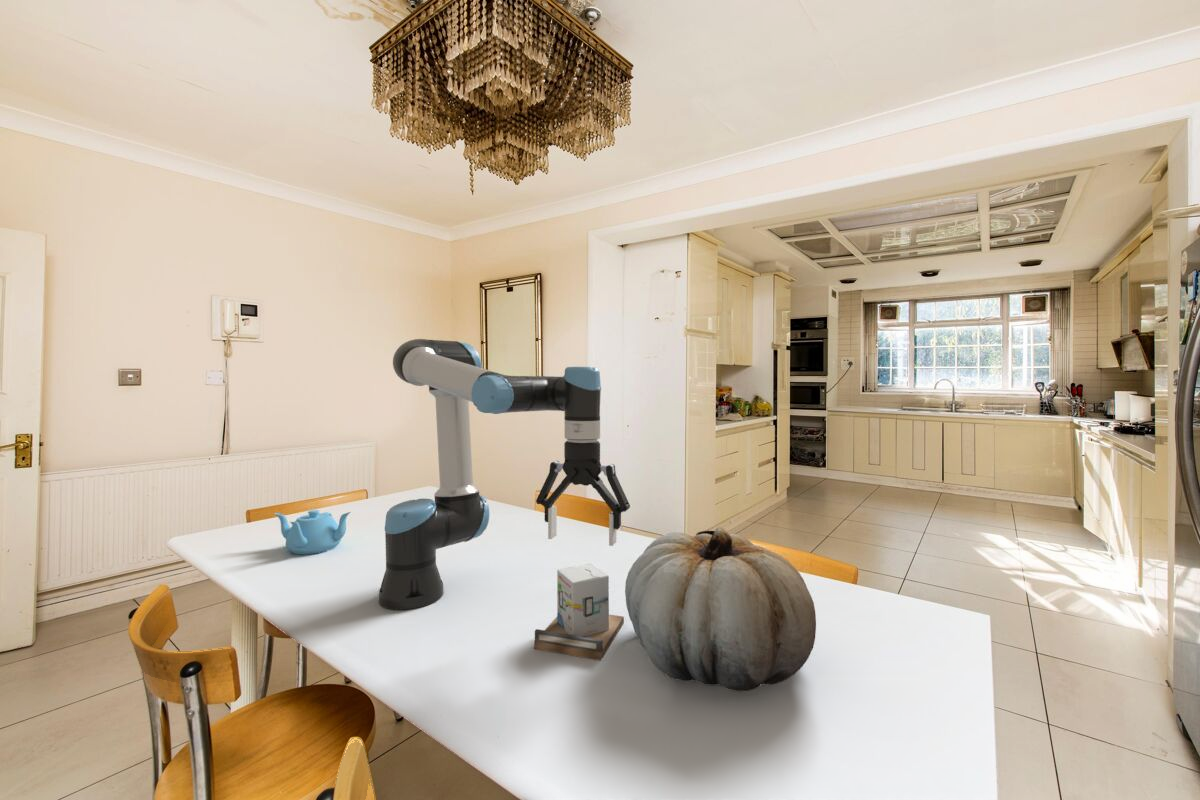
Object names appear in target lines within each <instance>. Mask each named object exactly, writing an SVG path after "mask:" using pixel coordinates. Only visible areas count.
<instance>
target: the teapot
mask: <svg viewBox="0 0 1200 800" xmlns="http://www.w3.org/2000/svg"><path fill="white" fill-rule="evenodd" d="M307 513H308V514H305V515H302V516H299V517H298V518H296V519H295V521H290V522H288V519H287V517H286V515H285V514H284V513H279V512H274V513H273V514H274V515H275V516H276V517H277V518H278V519H279V522H280V532H281V535H282V537H283V538H284V539H285V548H286V549H287V550H288V551H289V552H290V553H291V554H293V553H294V555H299V554H307V555H314V554H313V553H316V554H320V553H319V552H321V553H325V552H328V551H327V550H329V551H331V550H334V549H335V548H336V547H337V546H338V545H339V544H340V543H341V541H342V538H343V537H344V536H345V534H346V531H347V517H348V516H349V514H350V513H352V512H351V511H350V512H346V513H342V515H340V517H339V521H338V522H337V521H336V520H335V518H334V517H333V515H332V513H330V512H326V511H324V512H322V513H320V510H319V509H313V510H308V511H307ZM289 523H290V524H291V526H290V524H289ZM330 549H331V550H330ZM324 551H325V552H324Z"/></svg>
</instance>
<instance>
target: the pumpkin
mask: <svg viewBox="0 0 1200 800" xmlns="http://www.w3.org/2000/svg"><path fill="white" fill-rule="evenodd" d="M714 531H715V532H714V533H713V535H710V534H699V535H696V534H695V535H694V536H692V535H689V534H687V533H684V532H676V531H674V532H668V533H665V534H663V535H661V536H659V537H658V538H655V539H654V540H653V541H652V542H651V543H650V544H649V545H648V546H646V548H645V549H644V551H643V553H641V554H640V555H639V556H638V557H637V558H636V559H635V561H634V562H633V564H632V565H631V568H629V571H628V573H627V576H626V579H625V587H624V588H625V590H624V595H625V596H624V597H625V606H626V610H627V614H628V617H629V620H630V621H631V623H632V627H633V628H632V629H633V630H634V633H635V635H636V637H637V639H638V642H639V643H640V645H641V646H642V648H643V650H645V651H646V653H647V655H648V657H649V658H650V660H651V662H652V663H653V664H654V665H655V667H656V668H657V669H658V670H659V671H660V672H661V673H663V674H664V675H666V677H669V678H671V679H674V680H676V681H684V682H685V681H686V682H689V681H695V682H698V683H699V684H702V685H706V686H721V687H722V688H724V689H727V690H729V691H736V692H746V691H752V690H755V689H757V688H758V687H760V686H762V685H775V684H778V683H782V682H784V681H786V680H788V679H790V678H791V677H792V676H794V675H795V674H796V673H797V672H798V671H800V670H801V669H802V668H803V667H804V665H805V664H806V663H807V661H808V659H809V657H810V655H811V653H812V652H813V649H814V647H815V641H816V634H817V633H816V631H817V618H816V616H817V615H816V609H815V602H814V600H813V598H812V597H813V596H812V595H811V593H810V591H809V589H808V587H807V584H806V582H805V580H804V578H803V576H802V575H801V573H800V572H799V571H798V570H797V568H796V567H795V566H794V565H793V564H792V563H791V562H790V561H789V560H788V559H787V558H785V557H784V556H782V555H781V554H778V553H776V552H774V551H772V550H770V549H766V548H764V547H762V546H760V545H755V544H753V542H751V541H750V540H749V539H748V538H746V537H745V536H743V535H740V534H737V533H728V532H727V530H726V529H724V528H723V527H717V528H716V529H715V530H714Z"/></svg>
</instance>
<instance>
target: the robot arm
mask: <svg viewBox="0 0 1200 800" xmlns="http://www.w3.org/2000/svg"><path fill="white" fill-rule="evenodd" d="M482 367H483V366H482V360H481V356H480V355H479V352H478V350H476V349H475V348H474V346H472V345H471V344H470V343H466V342H461V341H457V340H441V339H440V340H437V339H424V338H415V339H410V340H408V341H405V342H404V343H402V344H401V345H399V347H398V348H397V349H396V350H395V352H394V354H393V358H392V369H393V370H394V373H395V374H396V376H397V377H398V378H399V379H400V380H402V381H403V382H405V383H407V384H411V385H412V386H416V387H423V386H428V392H429V393H430V394H431V395H432V396H433V397H434V398H435V414H436V416H435V417H436V437H437V453H438V470H439V471H438V473H439V474H438V475H439V476H438V477H439V488H438V489H437V491H435V493H434V499H430V498H417V499H410V500H405V501H402V502H399V503H396V504H395V505H393V506H391V507H390V508H389V509H388V510H387V511H386V515H385V523H384V532H385V533H384V534H385V535H384V536H385V537H384V538H385V572H384V575H383V578H382V581H381V584H380V588H379V590H378V605H380V606H381V607H383V608H385V609H388V610H389V609H390V610H398V611H399V610H402V611H403V610H410V609H411V610H412V609H418V608H421V607H425V606H428V605H431V604H432V603H435V602H436V601H439V600H440V599H441V598H442V597H443V595H444V583H443V580H442V578H441V574H440V572H439V568H438V566H437V555H436V554H437V550H438V549H442V548H446V547H449V546H453V545H456V544H459V543H463V542H464V543H466V542H469V541H471V540H473V539H476V538H479V537H480V536H482V535H483V534H484V532H485V531H486V529H487V527H488V525H489V523H490V522H489V521H490V507H489V504H488V503H487V499H486V498H485V497H484V495H481V494H480V489H479V488H477V486H476V485H475V484H474V480H473V479H474V478H473V459H472V444H471V443H472V442H471V441H472V440H471V424H470V423H471V421H470V419H471V418H470V403H472V404H473V406H475V407H476V409H477V411H478V412H481V413H483V414H494V415H498V414H499V415H500V414H507V413H508V414H509V413H519V412H521V413H522V412H540V411H541V412H542V411H543V412H545V411H557V412H560V411H561V412H564V439H566V440H565V442H564V449H563V451H564V454H563V455H564V462H560V461H559V460H555V461H552V462H551V463H550V465H549V471H548V474H547V476H546V479H545V481H544V483H543V484H542V487H541V489H540V491H539V494H538V495H537V497H536V500H535V503H536V504H537V505H541V506H542V507H544V522H545V523H547V524H548V525H547V529H548V530H547V532H548V533H547V534H548V535H547V537H548V538H547V539H548V540H552V539H553V538H555V537H556V536H558V535H557V527H558V526H557V513H558V512H557V509H558V508H557V505H555V503H556V502H557V500H558V499H559V497H561V495H562V494H563V493H564V492H565V491H566V489H568V487H569V486H570V485H571V484H573V486H578V485H581V486H589V485H591V487H592V488H593V489H594V490H595V491H596V492H597V493H598V495H599V496H600V497H601V499H602V500H603V501H604V502H605V504H606V505H607V506H608V508H609V509H610V510H611V512H610V513H609V514H608V519H609V520H608V546H610V547H613V546H614V545H615V544H616V543H617V530H619V529H620V528H621V527H622V513H624V512H627V511H628V510H629V509H630V508H631V504H630V503H629V500H628V498H627V496H626V494H625V492H624V489H623V487H622V485H621V483H620V481H619V479H618V477H617V473H616V465H615V464H614V463H610V464H608V465H607V464H605V465H602V464H601V442H600V441H599V440H600V438H601V391H602V386H601V385H602V384H601V374H600V370H599V369H598V368H597V367H594V366H567V367H566V368H565V369H564V375H562V376H545V375H534V376H533V375H529V376H528V375H506V374H502V373H499V372H495V371H492V370H491V369H490V370H489V369H486V368H482ZM469 402H470V403H469ZM562 470H563V472H564V473H565V475H566V476H565V477H564V478H563V479H562V480H561V481H560V482H561V483H560V484H559V485H558V486H557V487H556V489H554V491H553V492H552V493H551V494H550V491H551V490H552V488H553V485H554V483H555V481H556V480H557V478H558V475H559V473H560V472H561V471H562ZM601 473H603V474H604V476H606V478H607V481H608V484H609V486H610V488H611V491H612V492H613V493H611V492H610V490H609V489H608V488H607V486H606V485H605V483H604V481H603V479H602V478H601V477H600V476H599V475H600V474H601ZM549 494H550V496H549ZM613 494H614V495H613Z"/></svg>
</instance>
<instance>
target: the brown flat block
mask: <svg viewBox="0 0 1200 800" xmlns="http://www.w3.org/2000/svg"><path fill="white" fill-rule="evenodd" d="M624 619H625V616H623V615H615V614H610V613H609V630H607V631H603V632H599V633H595V634H591V635H587V636H583V637H581V636H575V635H569V634H568V633H567V632H566V631H565V629H564V628H563V627H562V626H561V625H560V624H559V623H558V622H557V616H556V617H555V618H554V619H553V620H552V621H551V623H550V624H549V625H547V627H545V629H540V628H539V629H537V628H536V629H535V630H534V641H533V642H534V643H533V644H534V645H533V647H534V649H535V650H540V651H546V652H550V653H556V654H557V653H558V654H562V655H567V656H572V657H573V656H574V657H578V658H585V659H589V660H596V661H602V659H603V658H604V656H605V655H606V653H607V651H608V650H609V648H610V646H611V645H612V643H613V641H614V640H615V638H616V637H617V635H618V633H619V632H620V631H621V628H622V627H623V625H624V622H625V620H624Z"/></svg>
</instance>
